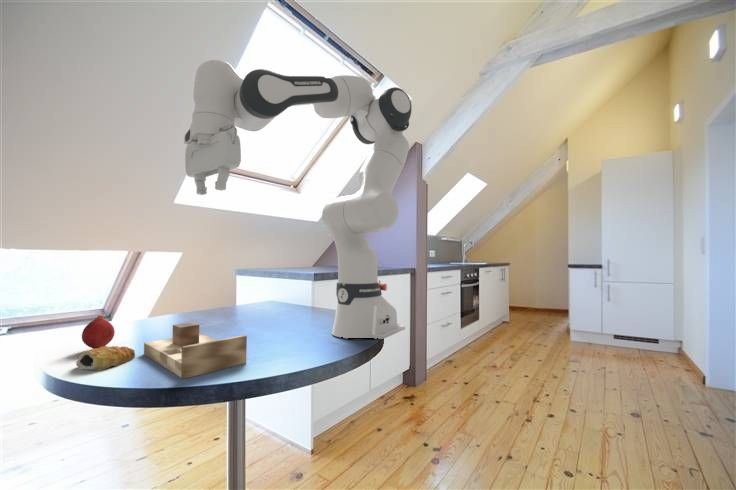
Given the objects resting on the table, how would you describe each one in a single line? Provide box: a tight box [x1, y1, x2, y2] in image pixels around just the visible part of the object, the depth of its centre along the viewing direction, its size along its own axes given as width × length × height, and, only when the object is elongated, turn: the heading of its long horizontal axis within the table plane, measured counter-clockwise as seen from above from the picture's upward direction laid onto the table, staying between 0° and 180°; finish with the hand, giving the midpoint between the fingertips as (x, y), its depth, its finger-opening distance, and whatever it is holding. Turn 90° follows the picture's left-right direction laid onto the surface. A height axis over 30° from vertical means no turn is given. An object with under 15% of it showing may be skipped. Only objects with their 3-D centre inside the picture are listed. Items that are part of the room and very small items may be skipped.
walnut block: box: [172, 321, 200, 347], centre depth 75 cm, size 4×4×4 cm
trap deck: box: [143, 333, 248, 380], centre depth 73 cm, size 12×22×6 cm, turn 48°
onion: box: [81, 314, 116, 349], centre depth 78 cm, size 6×6×8 cm
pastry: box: [75, 345, 136, 371], centre depth 70 cm, size 9×7×4 cm
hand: (210, 192), depth 79 cm, fingers open, 8 cm apart
